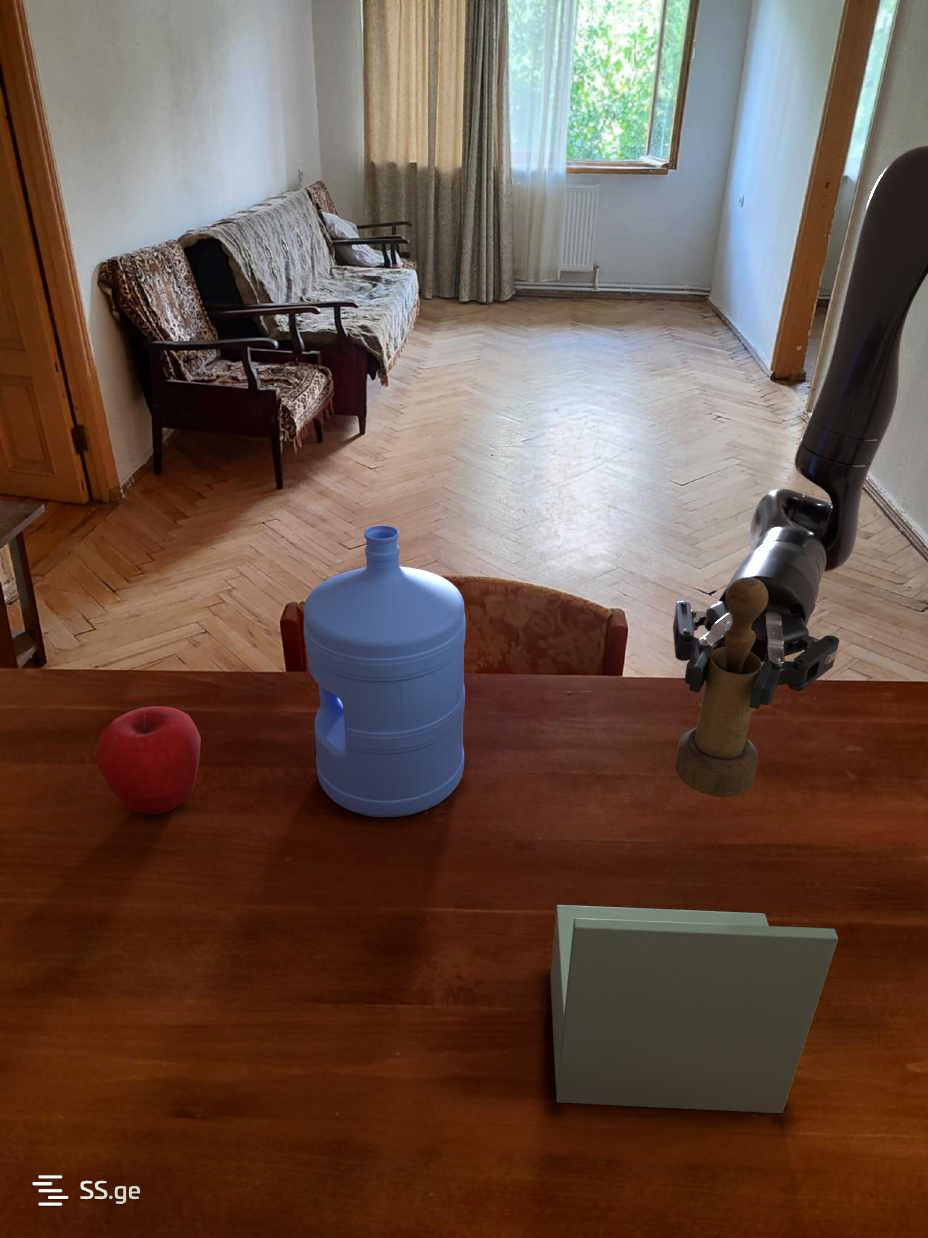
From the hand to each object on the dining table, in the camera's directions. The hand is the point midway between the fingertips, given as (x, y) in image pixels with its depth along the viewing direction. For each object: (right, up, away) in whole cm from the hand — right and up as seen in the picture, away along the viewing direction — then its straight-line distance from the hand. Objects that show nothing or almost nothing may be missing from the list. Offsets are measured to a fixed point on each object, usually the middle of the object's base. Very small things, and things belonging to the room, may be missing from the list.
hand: (725, 689), depth 67 cm
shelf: (-5, -27, +1) cm, 27 cm away
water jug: (-28, -11, +28) cm, 41 cm away
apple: (-51, -13, +24) cm, 58 cm away
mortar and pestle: (+1, -8, +7) cm, 11 cm away
